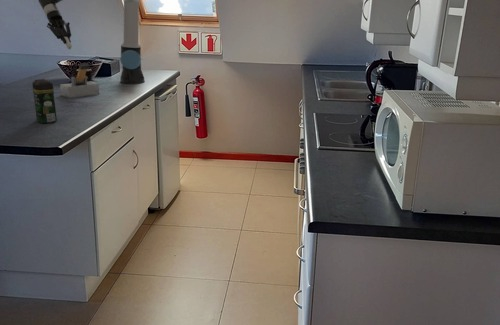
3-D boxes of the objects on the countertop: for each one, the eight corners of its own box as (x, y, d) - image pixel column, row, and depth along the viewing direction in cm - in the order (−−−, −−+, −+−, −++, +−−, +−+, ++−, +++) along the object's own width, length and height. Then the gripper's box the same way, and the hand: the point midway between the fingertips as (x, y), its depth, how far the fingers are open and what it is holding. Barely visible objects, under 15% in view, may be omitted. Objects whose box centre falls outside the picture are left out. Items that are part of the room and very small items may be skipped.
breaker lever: (74, 81, 271) (79, 63, 262) (81, 80, 274) (87, 62, 265) (75, 84, 271) (81, 66, 261) (83, 83, 274) (89, 65, 264)
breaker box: (61, 95, 271) (59, 77, 268) (91, 91, 283) (89, 74, 280) (68, 98, 265) (66, 79, 262) (99, 94, 277) (97, 76, 274)
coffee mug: (95, 85, 300) (93, 69, 297) (89, 88, 292) (88, 71, 289) (76, 84, 301) (75, 68, 298) (70, 87, 293) (69, 70, 290)
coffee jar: (34, 119, 222) (29, 78, 215) (52, 117, 226) (48, 77, 220) (40, 124, 214) (35, 82, 208) (59, 122, 219) (54, 81, 213)
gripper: (62, 18, 283) (79, 51, 278) (40, 19, 274) (56, 52, 269) (65, 9, 278) (82, 42, 273) (43, 9, 269) (60, 43, 264)
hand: (70, 47), depth 271 cm, fingers closed
